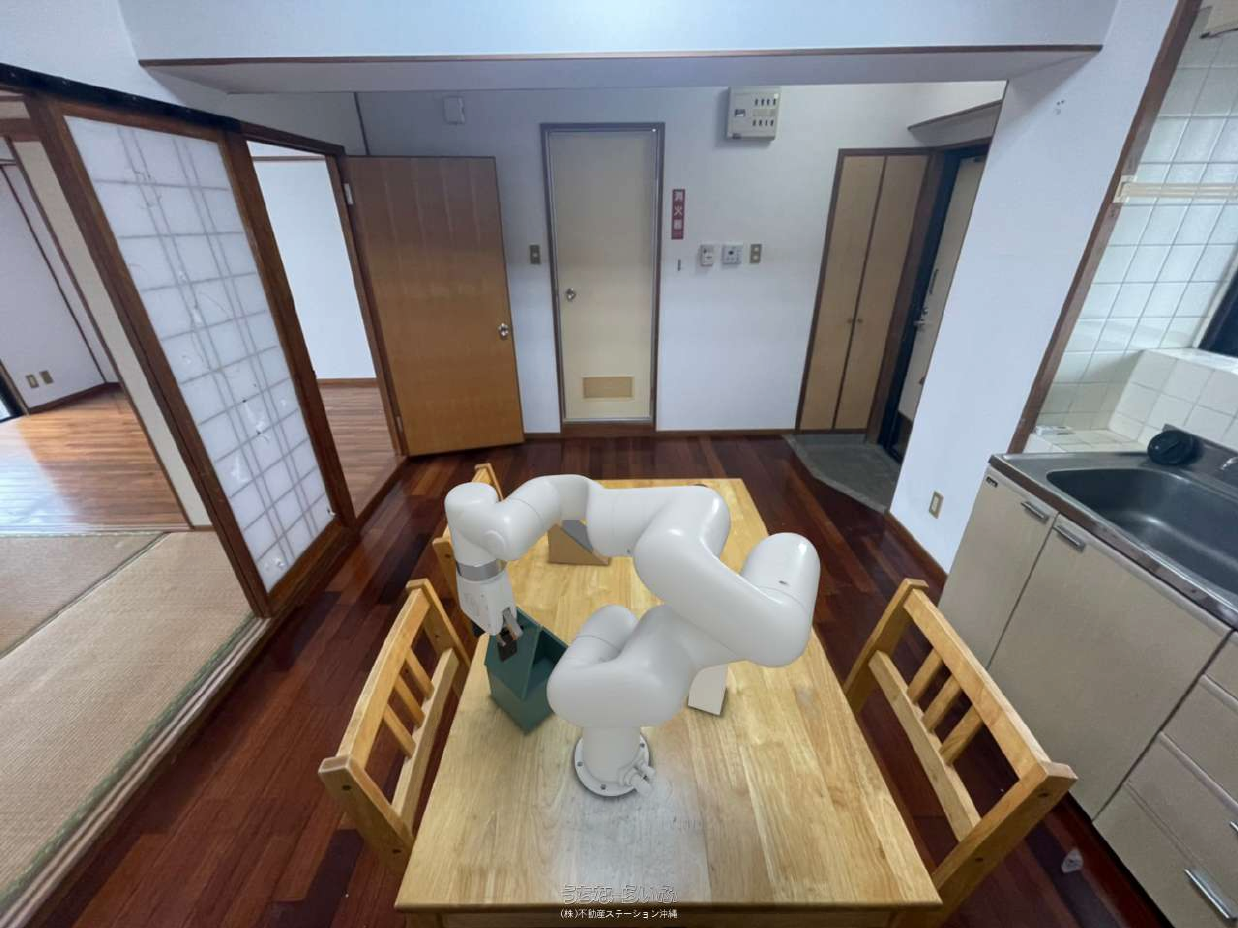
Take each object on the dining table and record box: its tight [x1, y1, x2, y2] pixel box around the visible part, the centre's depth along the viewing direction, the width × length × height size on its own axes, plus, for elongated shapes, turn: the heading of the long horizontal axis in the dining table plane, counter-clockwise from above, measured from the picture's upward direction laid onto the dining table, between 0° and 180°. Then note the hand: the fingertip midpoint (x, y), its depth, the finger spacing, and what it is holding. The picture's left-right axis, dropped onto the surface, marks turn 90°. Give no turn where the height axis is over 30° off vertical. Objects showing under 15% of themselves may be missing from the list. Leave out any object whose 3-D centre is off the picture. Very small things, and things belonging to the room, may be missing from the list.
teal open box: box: [485, 625, 569, 733], centre depth 98 cm, size 14×11×8 cm
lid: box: [483, 605, 542, 700], centre depth 88 cm, size 14×11×5 cm
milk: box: [687, 663, 730, 716], centre depth 93 cm, size 6×6×22 cm
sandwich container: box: [546, 520, 610, 566], centre depth 134 cm, size 9×15×15 cm, turn 85°
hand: (495, 643), depth 87 cm, fingers open, 6 cm apart
